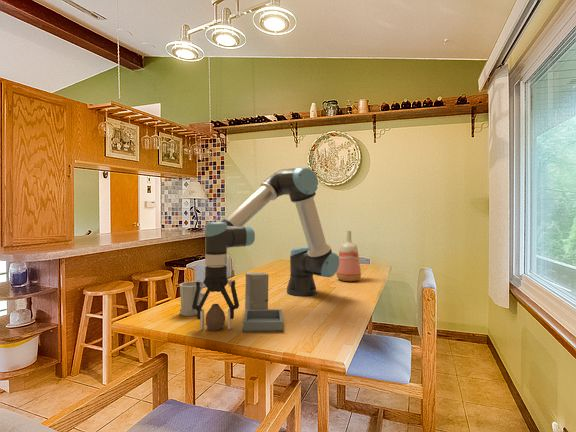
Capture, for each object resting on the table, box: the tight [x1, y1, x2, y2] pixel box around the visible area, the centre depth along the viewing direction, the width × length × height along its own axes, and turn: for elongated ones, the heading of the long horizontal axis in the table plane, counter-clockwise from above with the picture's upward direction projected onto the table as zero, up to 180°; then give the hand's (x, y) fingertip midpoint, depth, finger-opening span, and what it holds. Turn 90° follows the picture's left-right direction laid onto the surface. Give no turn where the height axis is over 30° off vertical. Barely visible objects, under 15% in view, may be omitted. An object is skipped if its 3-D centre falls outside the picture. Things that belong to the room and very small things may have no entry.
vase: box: [205, 303, 226, 332], centre depth 119 cm, size 7×7×9 cm
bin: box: [242, 308, 284, 333], centre depth 123 cm, size 14×14×4 cm
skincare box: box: [244, 272, 269, 311], centre depth 140 cm, size 8×7×16 cm
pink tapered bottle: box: [335, 230, 362, 283], centre depth 199 cm, size 14×14×30 cm
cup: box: [179, 281, 206, 317], centre depth 136 cm, size 10×9×12 cm
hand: (215, 327), depth 119 cm, fingers open, 9 cm apart
